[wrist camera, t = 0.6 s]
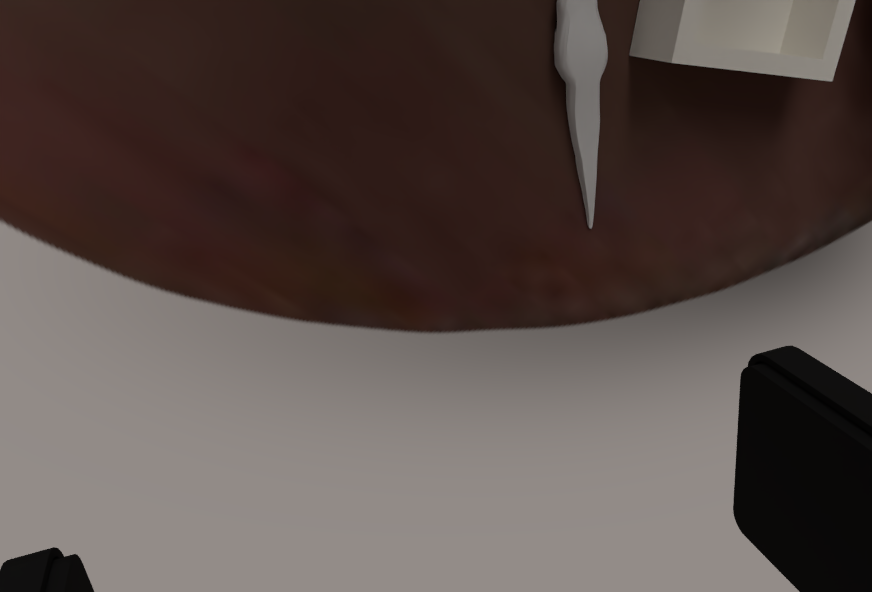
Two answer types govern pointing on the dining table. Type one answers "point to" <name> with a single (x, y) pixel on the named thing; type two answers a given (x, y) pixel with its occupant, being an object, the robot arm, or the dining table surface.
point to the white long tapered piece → (582, 85)
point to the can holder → (745, 34)
